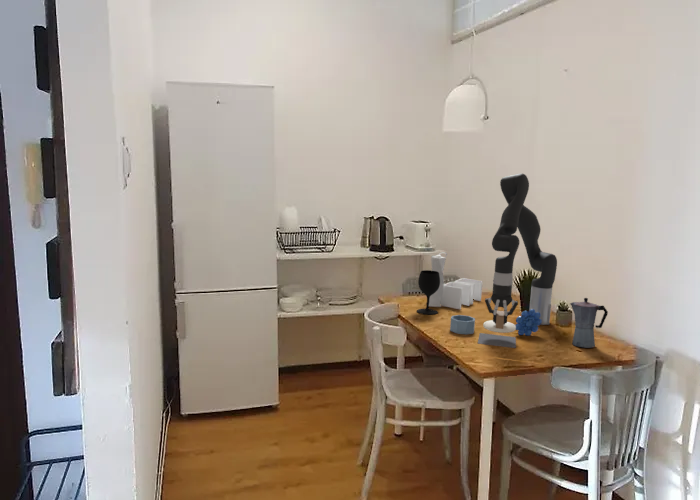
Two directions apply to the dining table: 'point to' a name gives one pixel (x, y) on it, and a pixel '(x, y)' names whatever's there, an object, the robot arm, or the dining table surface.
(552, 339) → the dining table surface
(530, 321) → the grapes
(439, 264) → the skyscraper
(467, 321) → the bowl
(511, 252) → the robot arm
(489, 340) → the mat
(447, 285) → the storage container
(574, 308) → the moka pot
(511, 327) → the lid
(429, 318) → the dining table surface
